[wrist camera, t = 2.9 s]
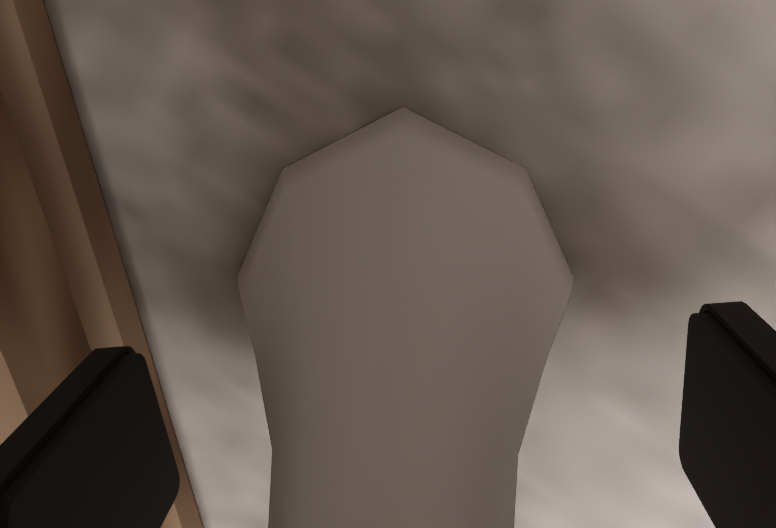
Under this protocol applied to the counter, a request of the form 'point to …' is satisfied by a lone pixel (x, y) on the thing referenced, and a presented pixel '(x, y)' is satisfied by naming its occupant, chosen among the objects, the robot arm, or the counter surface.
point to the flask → (401, 328)
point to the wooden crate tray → (56, 239)
